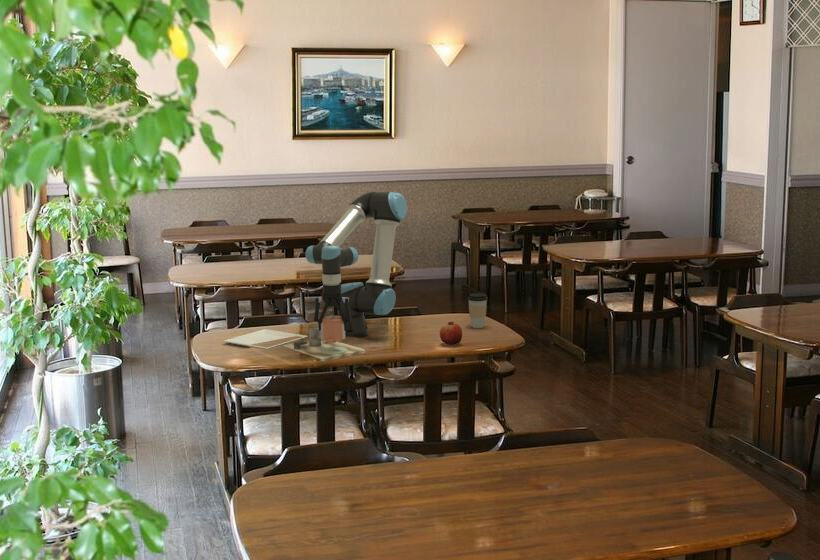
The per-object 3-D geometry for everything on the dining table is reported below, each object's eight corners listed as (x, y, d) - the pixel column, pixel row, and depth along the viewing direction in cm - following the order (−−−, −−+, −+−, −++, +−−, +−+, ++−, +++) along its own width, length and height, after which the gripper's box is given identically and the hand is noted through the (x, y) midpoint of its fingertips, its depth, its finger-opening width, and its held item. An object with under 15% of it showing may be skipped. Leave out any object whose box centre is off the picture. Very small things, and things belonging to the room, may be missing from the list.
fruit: (458, 348, 411) (458, 325, 409) (436, 346, 415) (436, 323, 413) (466, 342, 421) (466, 319, 419) (444, 341, 424) (444, 318, 423)
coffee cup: (474, 323, 456) (474, 292, 454) (492, 326, 451) (491, 294, 448) (463, 327, 449) (463, 295, 446) (481, 330, 443) (481, 297, 441)
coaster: (337, 346, 413) (337, 345, 413) (352, 351, 405) (352, 349, 404) (315, 351, 406) (315, 349, 406) (330, 356, 398) (330, 354, 398)
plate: (264, 333, 447) (264, 328, 447) (308, 340, 432) (308, 335, 432) (223, 345, 426) (222, 340, 426) (267, 352, 411) (267, 348, 411)
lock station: (325, 340, 430) (324, 321, 429) (365, 352, 407) (365, 333, 406) (281, 348, 417) (281, 329, 415) (321, 361, 393) (320, 342, 392)
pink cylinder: (326, 335, 411) (325, 313, 410) (346, 335, 411) (345, 313, 409) (320, 342, 398) (319, 320, 397) (340, 343, 397) (339, 320, 396)
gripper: (304, 285, 398) (306, 340, 402) (355, 285, 396) (356, 340, 400) (308, 282, 405) (310, 335, 409) (358, 282, 403) (359, 336, 407)
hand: (333, 338), depth 404 cm, fingers closed on pink cylinder, 8 cm apart
